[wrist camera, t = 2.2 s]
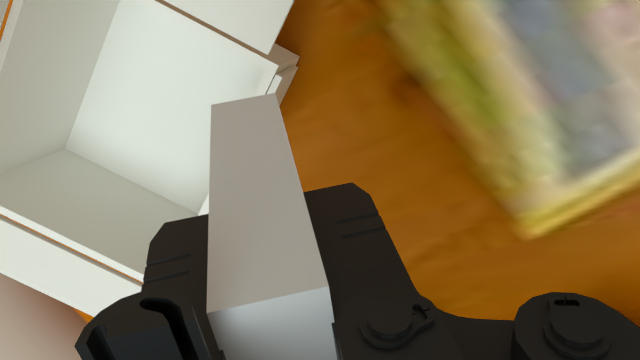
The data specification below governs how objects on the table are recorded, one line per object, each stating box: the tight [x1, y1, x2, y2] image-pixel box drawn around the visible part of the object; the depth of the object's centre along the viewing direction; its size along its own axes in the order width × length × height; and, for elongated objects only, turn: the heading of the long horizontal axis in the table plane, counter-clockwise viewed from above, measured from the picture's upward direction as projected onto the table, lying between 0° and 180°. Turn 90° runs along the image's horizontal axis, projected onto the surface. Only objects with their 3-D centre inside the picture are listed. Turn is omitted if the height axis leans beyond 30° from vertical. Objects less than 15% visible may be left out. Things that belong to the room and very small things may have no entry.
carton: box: [0, 0, 300, 317], centre depth 35 cm, size 24×15×12 cm, turn 153°
